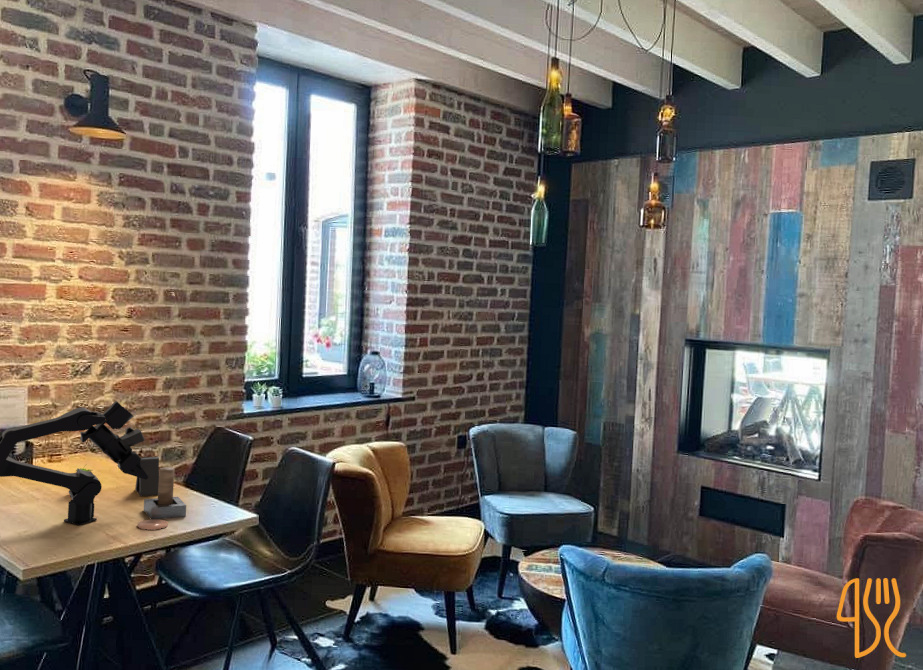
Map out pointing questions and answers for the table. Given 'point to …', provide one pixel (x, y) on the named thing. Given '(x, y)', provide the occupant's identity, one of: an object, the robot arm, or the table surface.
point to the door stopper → (150, 484)
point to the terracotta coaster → (152, 524)
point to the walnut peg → (165, 486)
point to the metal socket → (164, 508)
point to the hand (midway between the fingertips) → (143, 474)
